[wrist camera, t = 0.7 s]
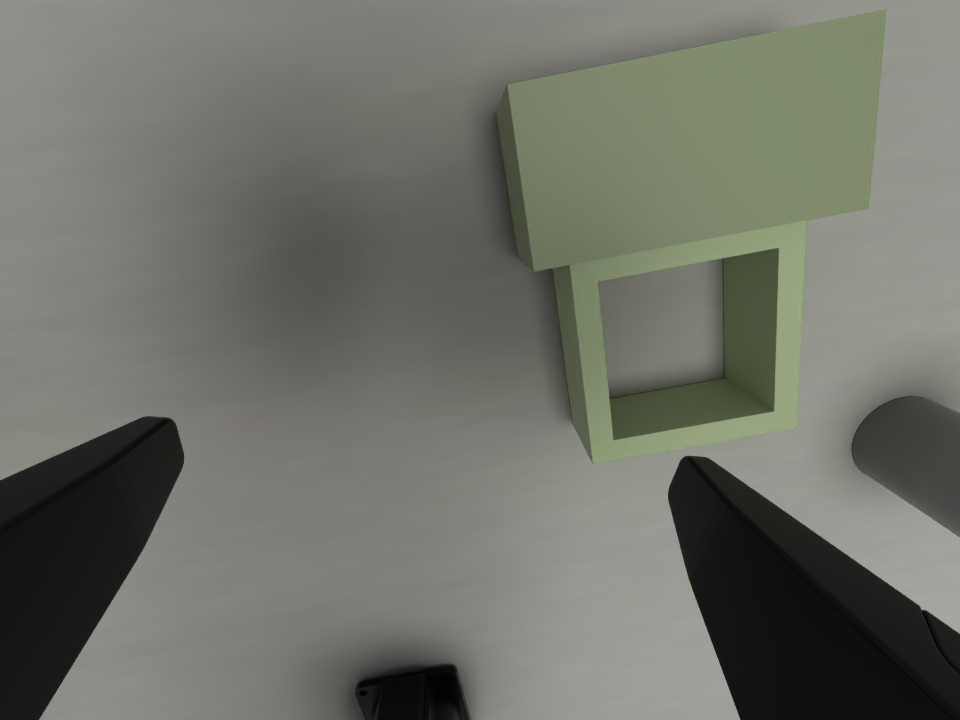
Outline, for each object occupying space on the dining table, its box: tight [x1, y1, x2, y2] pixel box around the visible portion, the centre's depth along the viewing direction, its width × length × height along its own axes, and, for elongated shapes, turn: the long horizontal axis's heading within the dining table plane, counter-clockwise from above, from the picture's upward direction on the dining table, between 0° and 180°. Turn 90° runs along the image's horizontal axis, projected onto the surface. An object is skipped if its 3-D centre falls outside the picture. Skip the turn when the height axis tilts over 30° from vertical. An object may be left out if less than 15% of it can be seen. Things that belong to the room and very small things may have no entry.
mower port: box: [496, 10, 886, 464], centre depth 19 cm, size 15×12×5 cm
